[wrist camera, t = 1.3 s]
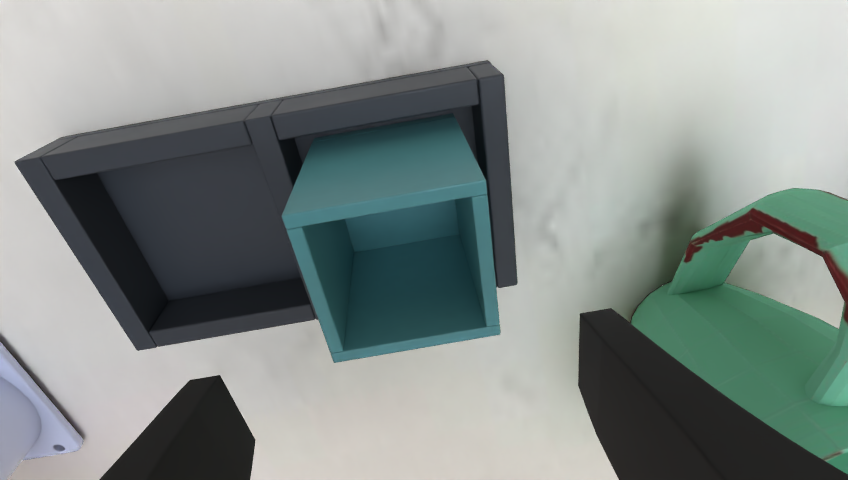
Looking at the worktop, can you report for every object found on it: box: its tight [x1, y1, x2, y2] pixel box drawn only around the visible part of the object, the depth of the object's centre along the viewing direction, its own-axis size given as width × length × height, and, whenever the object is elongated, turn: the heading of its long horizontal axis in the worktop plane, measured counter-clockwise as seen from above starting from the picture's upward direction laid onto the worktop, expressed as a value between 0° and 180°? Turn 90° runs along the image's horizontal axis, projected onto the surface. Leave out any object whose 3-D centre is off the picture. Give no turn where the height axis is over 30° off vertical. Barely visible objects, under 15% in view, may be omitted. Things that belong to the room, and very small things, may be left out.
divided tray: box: [15, 61, 517, 351], centre depth 17 cm, size 15×8×2 cm, turn 99°
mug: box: [631, 188, 848, 474], centre depth 17 cm, size 15×10×10 cm
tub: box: [282, 113, 500, 363], centre depth 15 cm, size 5×5×6 cm
